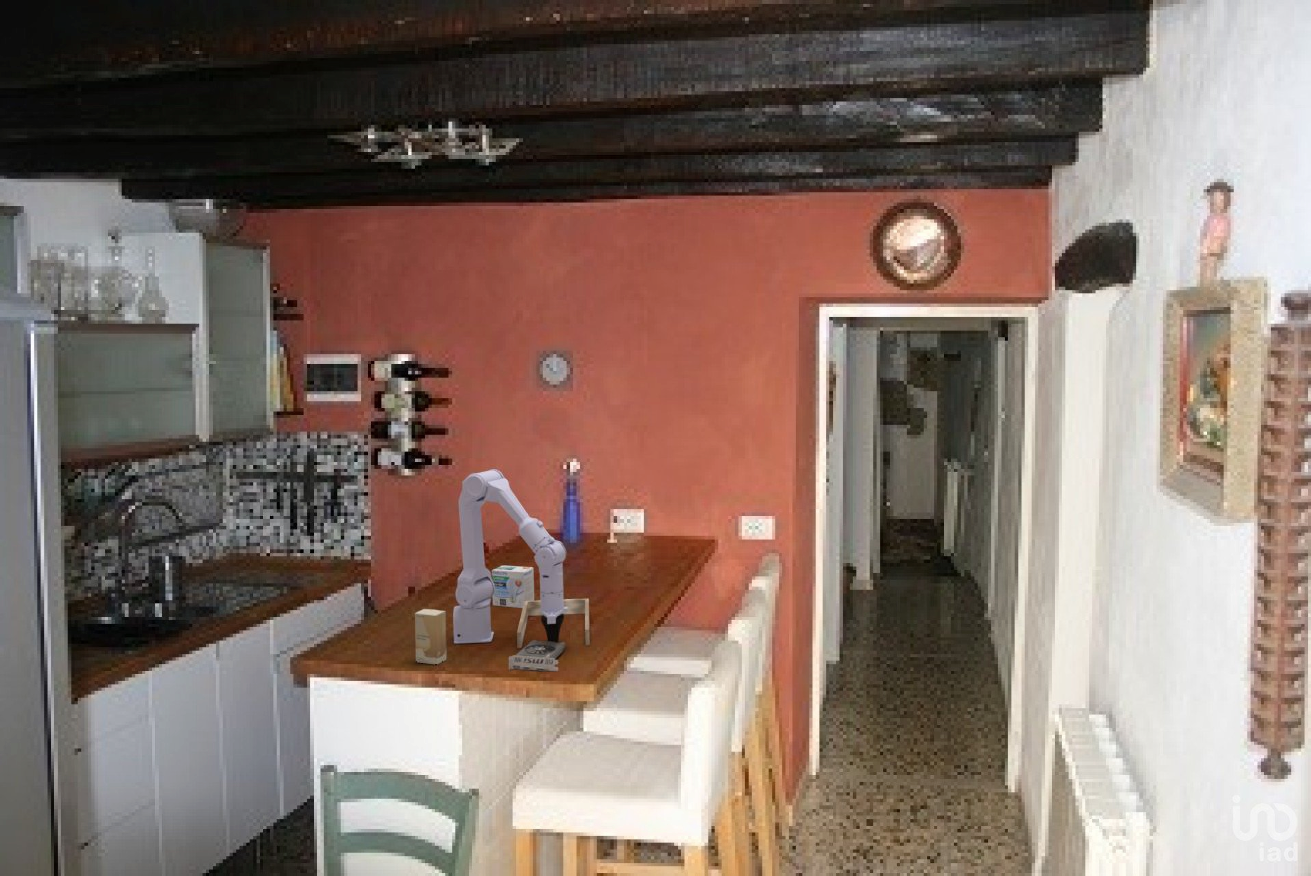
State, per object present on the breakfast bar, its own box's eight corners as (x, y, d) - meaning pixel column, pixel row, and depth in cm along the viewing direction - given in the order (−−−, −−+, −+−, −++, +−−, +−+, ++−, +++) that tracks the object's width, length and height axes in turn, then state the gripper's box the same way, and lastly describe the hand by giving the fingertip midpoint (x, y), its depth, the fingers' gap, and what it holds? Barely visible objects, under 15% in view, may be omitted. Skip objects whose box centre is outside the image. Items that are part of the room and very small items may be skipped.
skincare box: (415, 662, 235) (412, 612, 234) (425, 657, 239) (423, 608, 238) (438, 665, 233) (435, 614, 232) (448, 659, 237) (446, 610, 236)
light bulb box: (492, 605, 286) (490, 569, 285) (503, 600, 293) (502, 564, 292) (524, 608, 283) (523, 571, 282) (535, 602, 289) (534, 566, 288)
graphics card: (556, 659, 225) (507, 656, 228) (556, 675, 226) (507, 672, 228) (577, 639, 242) (530, 636, 244) (577, 654, 242) (530, 651, 244)
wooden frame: (517, 648, 245) (516, 632, 244) (524, 614, 275) (524, 601, 275) (589, 645, 246) (589, 629, 246) (589, 612, 277) (588, 598, 276)
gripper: (567, 597, 236) (569, 652, 237) (568, 583, 250) (569, 635, 252) (538, 598, 236) (539, 653, 237) (540, 584, 250) (542, 636, 251)
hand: (553, 644), depth 244 cm, fingers closed
